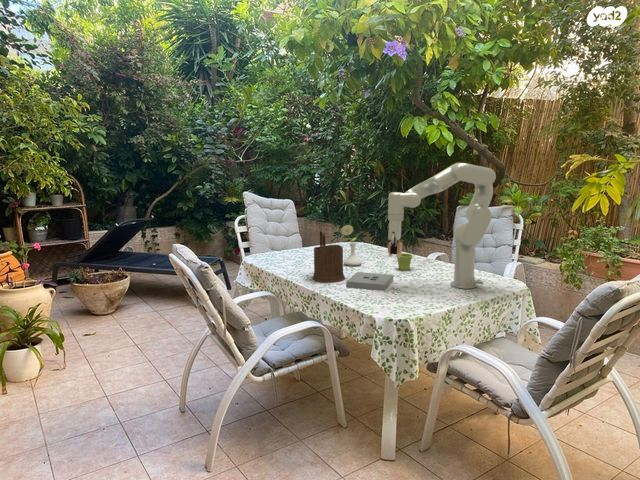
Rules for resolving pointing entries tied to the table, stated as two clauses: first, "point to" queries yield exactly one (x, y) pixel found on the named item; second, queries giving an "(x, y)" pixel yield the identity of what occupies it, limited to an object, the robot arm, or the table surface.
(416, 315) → the table surface
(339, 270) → the brown cylinder
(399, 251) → the plug
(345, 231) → the flower in vase
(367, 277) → the socket
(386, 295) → the table surface
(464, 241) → the robot arm
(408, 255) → the plant pot
